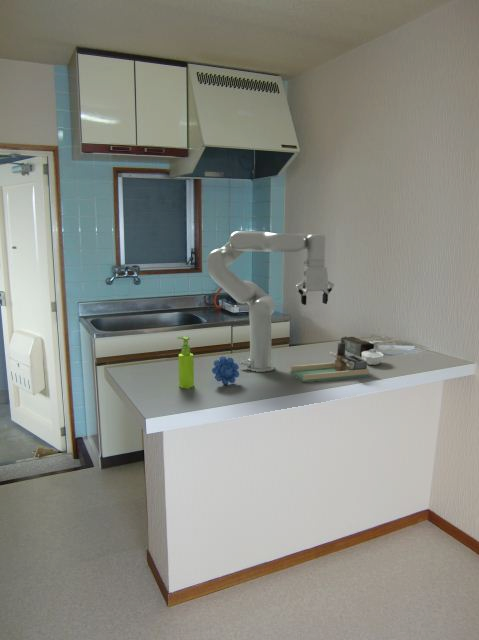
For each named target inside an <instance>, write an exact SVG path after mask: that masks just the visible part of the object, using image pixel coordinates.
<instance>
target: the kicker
mask: <svg viewBox="0 0 479 640" xmlns="http://www.w3.org/2000/svg"><path fill="white" fill-rule="evenodd" d="M329 354H330V355H331V356H333V357H334V358H336V359H335V360H334V362H335V370H337V371H346V369H347V364H349V365H353V363H352V362H351V361H349V360H347V359H346V350H345V343H341V342H338V343H337V353H335V352H333V351H330V352H329Z"/></svg>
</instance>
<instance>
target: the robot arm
mask: <svg viewBox="0 0 479 640" xmlns="http://www.w3.org/2000/svg"><path fill="white" fill-rule="evenodd" d="M303 251H306V261H303V265H305V267H304V270H303V271H304V272H303V277H302V281H300V282H299V283H297V284H296V285H295V288H296V290H297V292H298V293H299V294H300V302H301V304H302V305H303V306H306V305H307V293H308V292H323V293H322V304H325V305H327V304H328V300H329V295H330V293H331V291H332V290H333V288H334V286H335V284H334V283H333V282H331V281H329V276H328V269H327V266H326V265H325V264H326V263H325V262H326V259H325V257H326V236H325V235H324V234H322V233H321V234H320V233H317V234H316V233H313V234H306V233H274V232H270V231H258V230H257V231H256V230H255V231H254V230H253V231H251V230H238V231H234V232H232V233H231V234H230V236H229V238H228V242H227V243H225V245H223V246H222V247H221V248H220V247H219V248H216V249H214V250H212V251H211V252H210V253H209V254H208V255H207V258H206V270H207V273H208V276H210V277H211V279H212V280H213V281H214V282H215V283H216V285H218V286H219V287H221V288H222V289H223V291H225V293H227V294H228V296H230V297H231V298H232V299H233V300H235V302H236V303H239V304H242V305H244V304H247V305H248V306H249V309H248V317H249V318H248V319H249V357H248V358H247V359H246V360H239V363H238V364H239V366H244V367H246V369H247V370H248V371H250V370H251V372H255V371H256V373H257V372H259V373H265V372H266V371H267V372H271V371H273V370H274V369H275V365H274V364H273V363H272V314H273V313H274V312H275V310H276V303H275V301H274V299H273V298H272V297H271V296H270V295H269V294H268V293H267V292H266V291H264V289H262V288H261V287H260V286H258V285H257V284H256V283H255V282H253V281H250V280H242V278H240V277H239V276H238V275H236V273H235V272H233V270H231V269H229V268H228V267H229V266H230V265H232V264H233V263H234V262H235V261H236V260H238V258H240V257H241V256H242V255H243V254H244V253H245V252H267V253H269V252H275V253H300V252H303ZM301 288H302V289H301Z"/></svg>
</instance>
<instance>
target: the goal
mask: <svg viewBox="0 0 479 640" xmlns="http://www.w3.org/2000/svg"><path fill="white" fill-rule="evenodd" d="M345 355H346V354H345ZM346 359H347V360H349V361H352V362H354V370H359V369H368V363H367V361H365V360H363V359H362V357H360V356H358V355H356V354H353V355H346Z"/></svg>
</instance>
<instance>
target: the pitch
mask: <svg viewBox="0 0 479 640" xmlns="http://www.w3.org/2000/svg"><path fill="white" fill-rule="evenodd" d="M289 370H290V374H291V375H292V374H293V375H294V376H293V375H292V376H293V377H295V378H296V377H297V378H296V379H298V380H299V381H300V380H301V381H300V382H301V383H303V384H305V383H304V382H307V383H315V382H314V381H318V382H325V381H327V382H329V381H336V380H337V381H338V380H348V379H357V378H358V379H359V378H368V377H369V368H367V369H359V370H348V369H346V371H337V370H335V361H334V362H324V363H323V362H322V363H312V364H311V363H310V364H301V365H290V369H289Z"/></svg>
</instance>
